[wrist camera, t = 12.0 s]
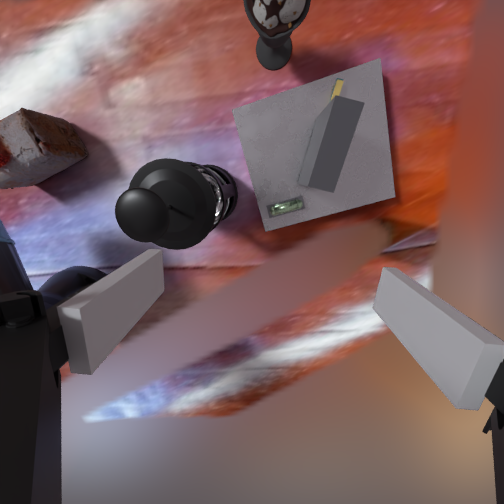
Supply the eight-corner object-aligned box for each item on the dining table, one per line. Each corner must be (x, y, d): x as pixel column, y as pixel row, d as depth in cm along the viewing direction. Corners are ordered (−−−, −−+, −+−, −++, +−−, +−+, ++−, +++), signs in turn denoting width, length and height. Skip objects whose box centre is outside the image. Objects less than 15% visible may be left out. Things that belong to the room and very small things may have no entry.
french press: (233, 157, 37) (188, 129, 15) (247, 214, 40) (225, 261, 18) (165, 174, 39) (34, 172, 17) (183, 229, 41) (90, 288, 20)
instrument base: (265, 227, 40) (265, 234, 36) (234, 115, 35) (229, 106, 31) (385, 195, 38) (401, 198, 33) (370, 68, 33) (387, 50, 28)
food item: (32, 193, 41) (-37, 198, 32) (1, 148, 39) (-82, 139, 30) (94, 160, 39) (39, 154, 29) (65, 110, 37) (-4, 87, 27)
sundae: (306, 58, 33) (337, -34, 18) (264, 87, 34) (263, 22, 20) (284, 7, 31) (300, -137, 17) (241, 39, 32) (222, -68, 18)
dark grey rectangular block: (316, 188, 35) (333, 192, 26) (297, 183, 35) (307, 186, 26) (350, 84, 30) (383, 48, 22) (328, 78, 30) (352, 40, 22)
